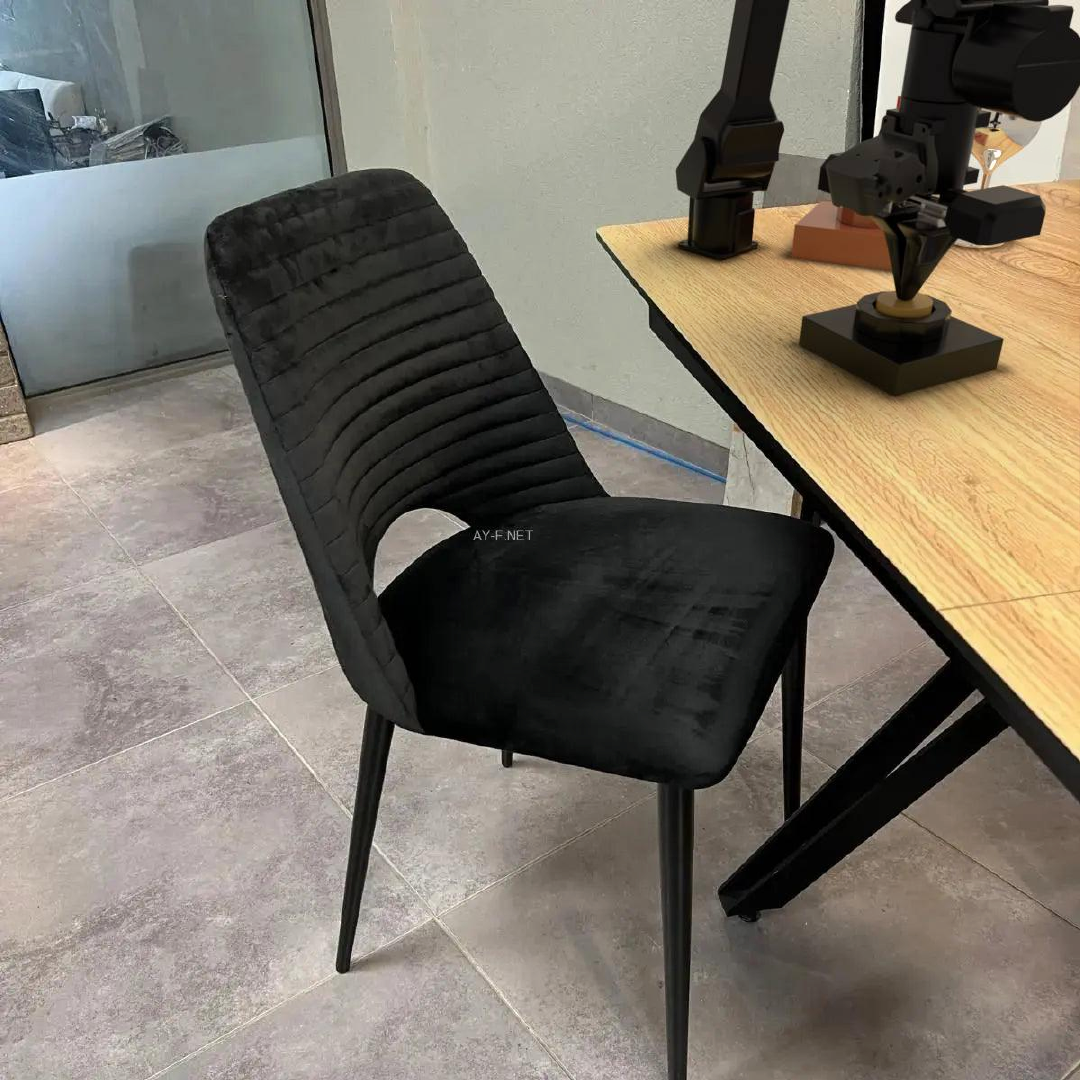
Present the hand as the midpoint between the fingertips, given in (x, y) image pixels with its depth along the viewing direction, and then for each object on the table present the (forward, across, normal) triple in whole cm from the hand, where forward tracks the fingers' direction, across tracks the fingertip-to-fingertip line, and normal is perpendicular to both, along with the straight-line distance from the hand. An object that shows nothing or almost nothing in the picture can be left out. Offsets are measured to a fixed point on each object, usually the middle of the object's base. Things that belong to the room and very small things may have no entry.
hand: (904, 299), depth 85 cm
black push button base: (+5, 0, 0) cm, 5 cm away
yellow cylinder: (+2, 0, 0) cm, 2 cm away
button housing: (+5, -23, +17) cm, 29 cm away
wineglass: (+5, -20, +30) cm, 36 cm away
